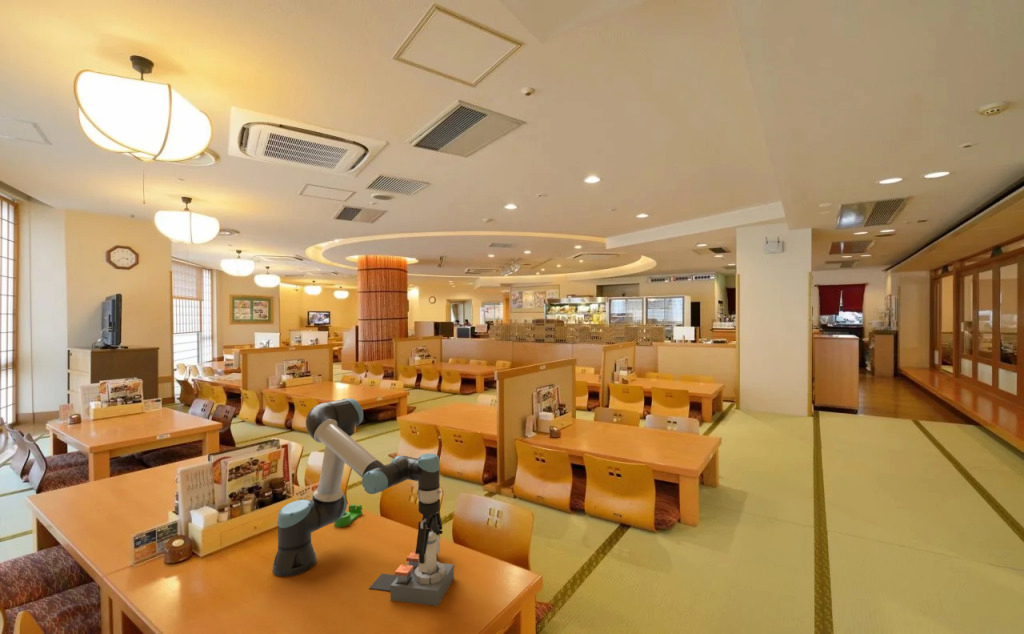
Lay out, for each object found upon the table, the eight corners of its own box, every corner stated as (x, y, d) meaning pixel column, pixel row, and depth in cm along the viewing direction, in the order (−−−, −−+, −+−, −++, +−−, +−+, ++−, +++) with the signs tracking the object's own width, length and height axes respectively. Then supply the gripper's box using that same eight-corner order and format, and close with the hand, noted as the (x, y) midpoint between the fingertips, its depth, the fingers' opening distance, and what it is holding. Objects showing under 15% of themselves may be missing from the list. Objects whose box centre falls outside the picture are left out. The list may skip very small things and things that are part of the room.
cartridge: (421, 578, 151) (420, 537, 151) (426, 570, 156) (426, 531, 156) (433, 579, 150) (433, 539, 150) (438, 572, 155) (438, 532, 155)
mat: (369, 589, 154) (369, 587, 154) (381, 574, 163) (381, 573, 163) (392, 591, 152) (392, 590, 152) (404, 577, 161) (404, 575, 161)
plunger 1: (395, 591, 148) (395, 571, 148) (401, 583, 153) (401, 564, 153) (407, 593, 147) (407, 573, 147) (413, 585, 152) (413, 565, 152)
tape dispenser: (344, 528, 201) (344, 518, 201) (331, 527, 202) (331, 517, 203) (362, 514, 215) (362, 505, 216) (350, 513, 217) (349, 504, 217)
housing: (390, 600, 147) (390, 579, 147) (410, 573, 163) (410, 554, 163) (438, 606, 144) (437, 584, 144) (453, 578, 160) (453, 559, 160)
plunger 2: (406, 576, 157) (406, 557, 157) (412, 569, 162) (411, 551, 162) (418, 577, 156) (418, 558, 156) (423, 570, 161) (423, 552, 161)
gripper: (426, 514, 141) (426, 582, 141) (450, 487, 164) (451, 545, 164) (404, 513, 143) (405, 580, 142) (431, 486, 166) (432, 544, 165)
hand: (429, 561), depth 153 cm, fingers open, 11 cm apart
